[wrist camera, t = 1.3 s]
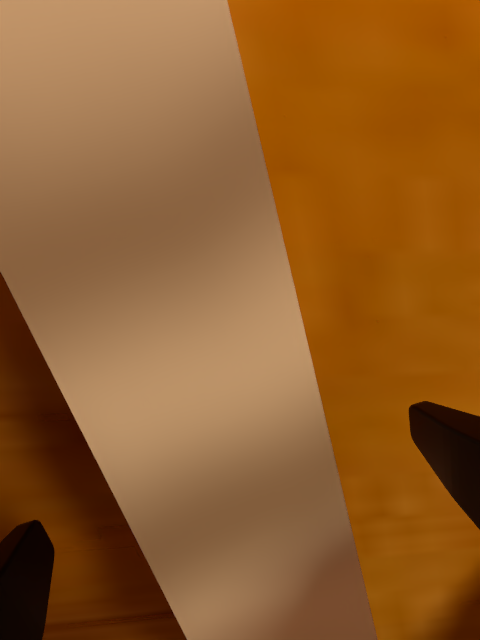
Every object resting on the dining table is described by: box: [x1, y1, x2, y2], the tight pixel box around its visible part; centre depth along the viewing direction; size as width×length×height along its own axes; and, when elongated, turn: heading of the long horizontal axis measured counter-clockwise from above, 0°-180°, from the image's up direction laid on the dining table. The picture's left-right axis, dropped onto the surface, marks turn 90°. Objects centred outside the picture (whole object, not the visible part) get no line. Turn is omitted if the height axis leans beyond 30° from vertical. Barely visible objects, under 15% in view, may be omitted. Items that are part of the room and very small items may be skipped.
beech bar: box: [0, 0, 377, 640], centre depth 10 cm, size 20×4×5 cm, turn 16°
